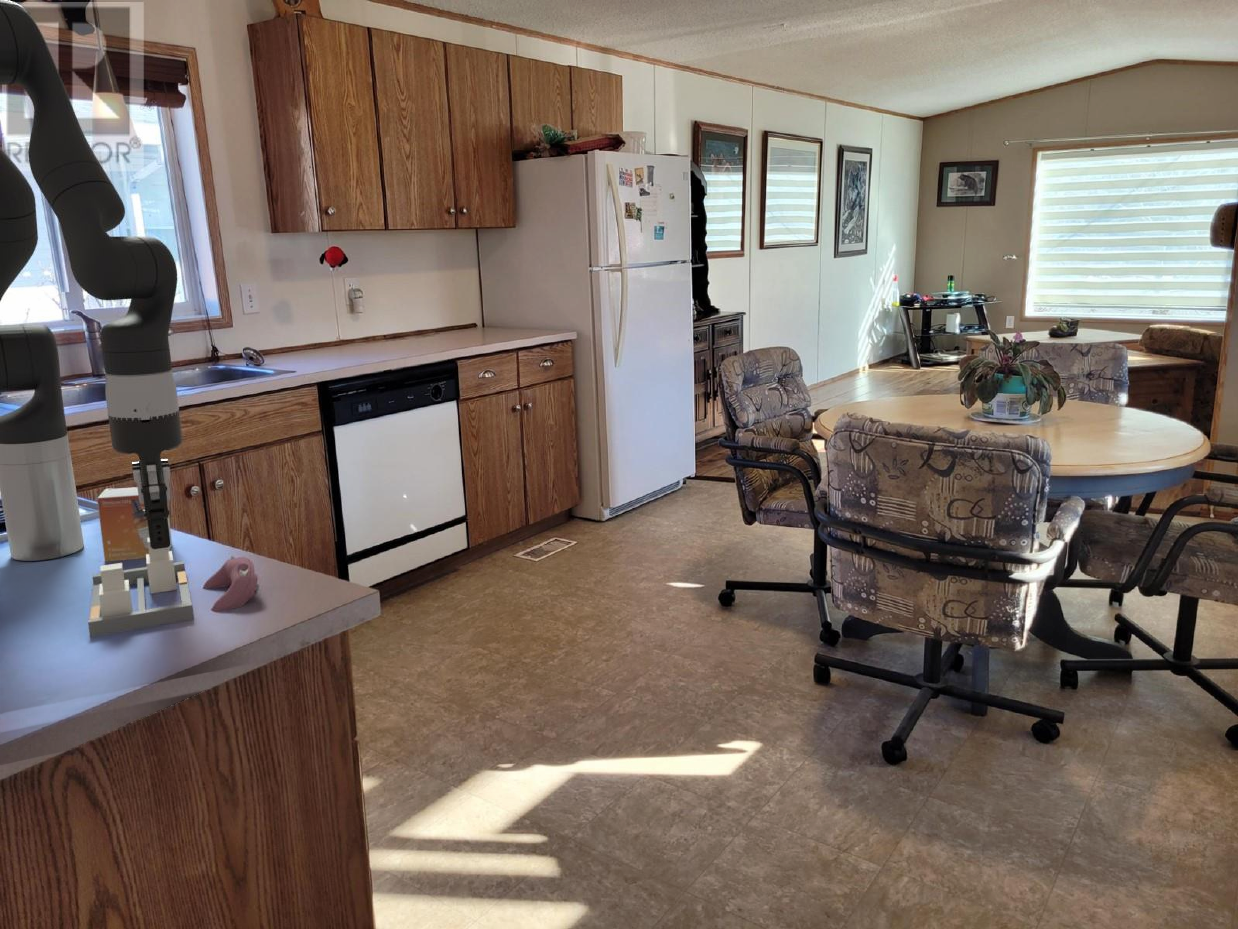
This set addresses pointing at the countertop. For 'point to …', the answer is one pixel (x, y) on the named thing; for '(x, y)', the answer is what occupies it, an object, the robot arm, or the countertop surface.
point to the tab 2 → (160, 570)
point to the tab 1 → (114, 591)
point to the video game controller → (234, 583)
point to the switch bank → (140, 605)
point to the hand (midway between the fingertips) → (160, 546)
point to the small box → (123, 524)
